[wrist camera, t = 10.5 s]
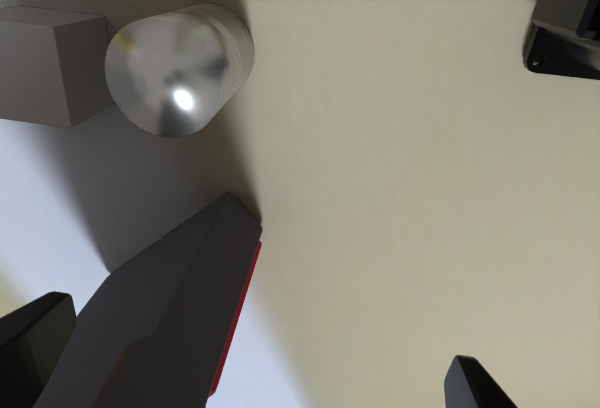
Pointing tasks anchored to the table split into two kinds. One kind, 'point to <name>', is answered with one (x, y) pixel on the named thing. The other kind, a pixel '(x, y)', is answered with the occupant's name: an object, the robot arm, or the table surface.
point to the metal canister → (178, 67)
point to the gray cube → (52, 66)
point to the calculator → (162, 319)
